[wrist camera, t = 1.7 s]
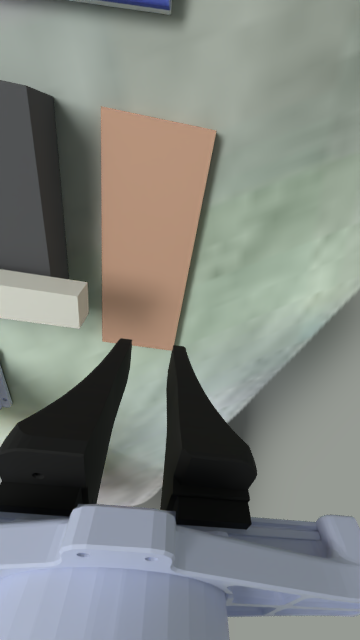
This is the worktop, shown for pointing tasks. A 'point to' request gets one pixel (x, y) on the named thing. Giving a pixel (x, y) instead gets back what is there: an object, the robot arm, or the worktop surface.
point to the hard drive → (135, 5)
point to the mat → (148, 222)
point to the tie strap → (43, 299)
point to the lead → (30, 184)
